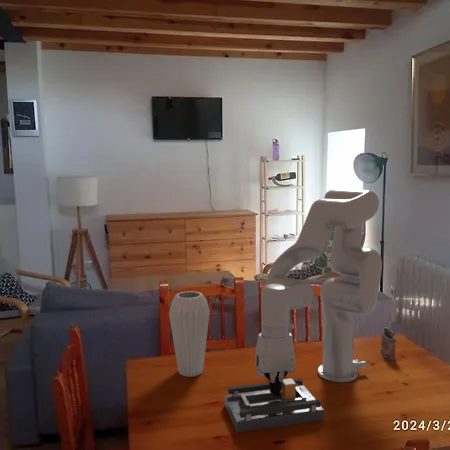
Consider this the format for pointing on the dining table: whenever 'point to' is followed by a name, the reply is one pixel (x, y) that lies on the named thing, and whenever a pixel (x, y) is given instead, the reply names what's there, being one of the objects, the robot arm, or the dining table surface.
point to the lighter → (388, 344)
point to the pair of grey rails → (275, 408)
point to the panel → (270, 420)
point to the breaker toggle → (288, 389)
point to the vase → (189, 331)
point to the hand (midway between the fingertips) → (275, 393)
